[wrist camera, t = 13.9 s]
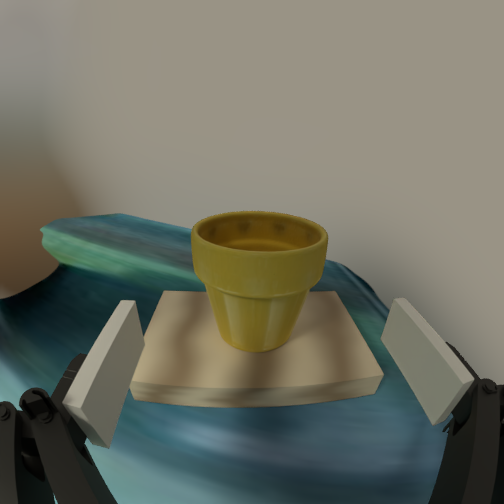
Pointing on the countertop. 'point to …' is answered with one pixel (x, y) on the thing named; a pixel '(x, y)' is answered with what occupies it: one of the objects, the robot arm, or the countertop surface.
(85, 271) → the countertop surface
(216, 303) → the plant pot
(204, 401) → the birch stand
